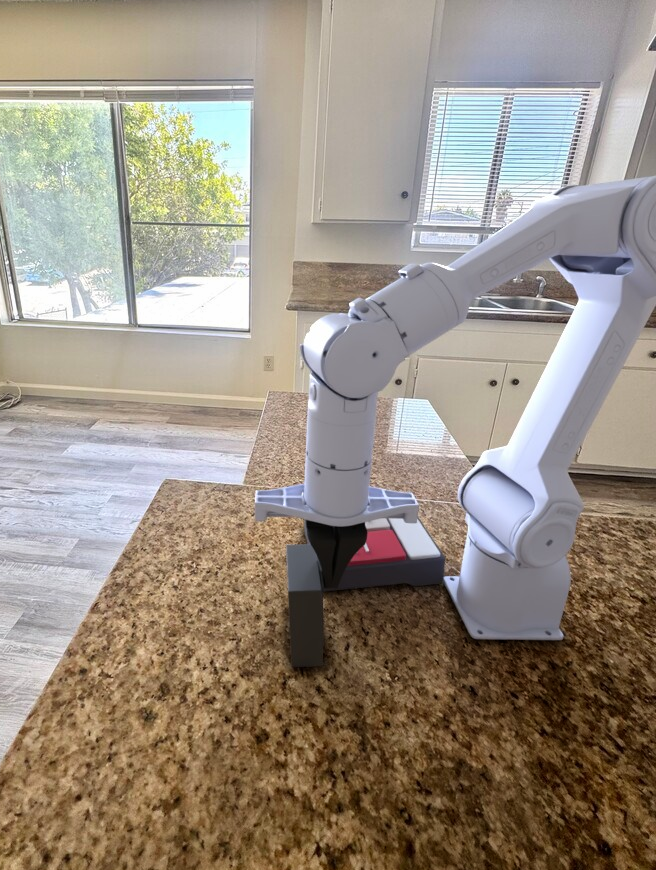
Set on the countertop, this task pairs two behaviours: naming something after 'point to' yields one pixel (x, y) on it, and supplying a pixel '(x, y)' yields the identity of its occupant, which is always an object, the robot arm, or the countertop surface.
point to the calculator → (393, 557)
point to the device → (305, 606)
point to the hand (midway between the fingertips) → (329, 580)
